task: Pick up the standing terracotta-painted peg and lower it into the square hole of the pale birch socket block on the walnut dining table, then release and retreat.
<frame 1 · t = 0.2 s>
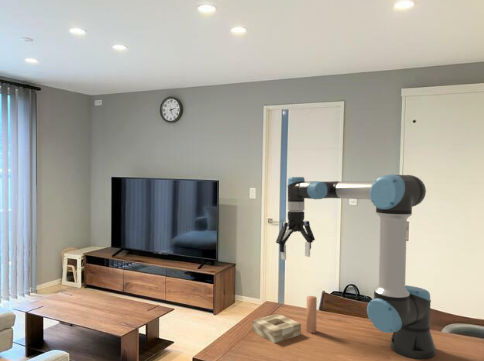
hand: (295, 257, 173), 27 cm above the table, fingers open, 13 cm apart
peg: (311, 331, 157), on the table
socket block: (276, 332, 155), on the table
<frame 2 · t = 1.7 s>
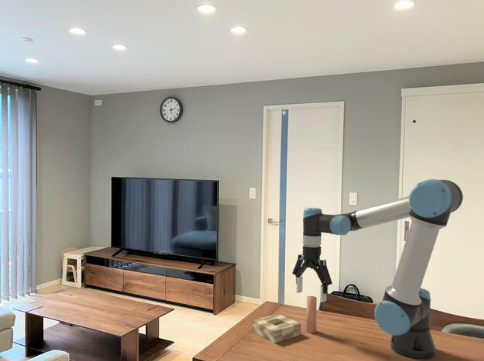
hand: (310, 296, 157), 14 cm above the table, fingers open, 13 cm apart
nothing on the table moved.
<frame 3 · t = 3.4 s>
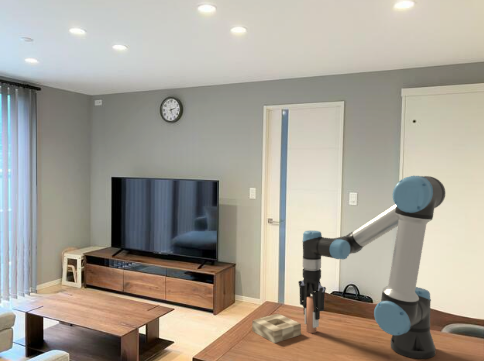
hand: (311, 325, 157), 3 cm above the table, fingers closed on peg, 4 cm apart
peg: (311, 331, 157), on the table, touching gripper
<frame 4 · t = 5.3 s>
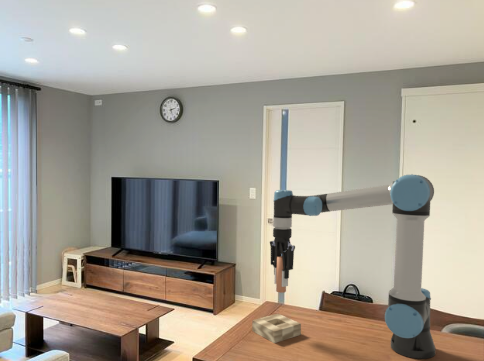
hand: (281, 284, 156), 20 cm above the table, fingers closed on peg, 4 cm apart
peg: (281, 291, 156), point 17 cm above the table, touching gripper
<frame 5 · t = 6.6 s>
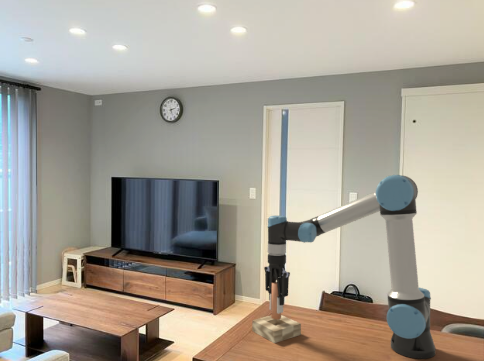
hand: (276, 310, 155), 9 cm above the table, fingers closed on peg, 4 cm apart
peg: (276, 317, 155), point 6 cm above the table, touching gripper
when the fingers open (6 cm above the table, at t = 7.5 s): peg drops 3 cm, resting in socket block.
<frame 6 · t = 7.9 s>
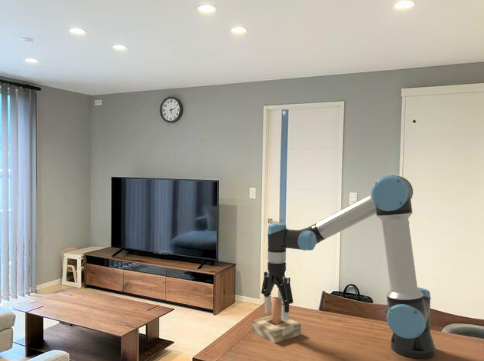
hand: (276, 316, 155), 7 cm above the table, fingers open, 10 cm apart
peg: (276, 332, 155), resting in socket block
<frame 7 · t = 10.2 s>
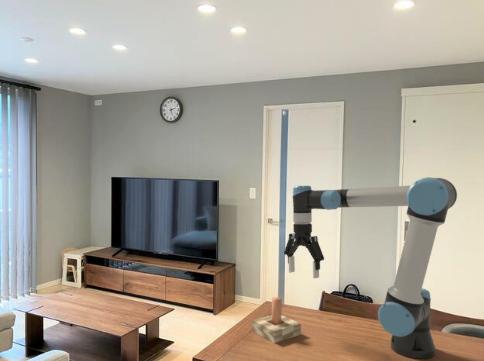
hand: (303, 274, 156), 23 cm above the table, fingers open, 13 cm apart
nothing on the table moved.
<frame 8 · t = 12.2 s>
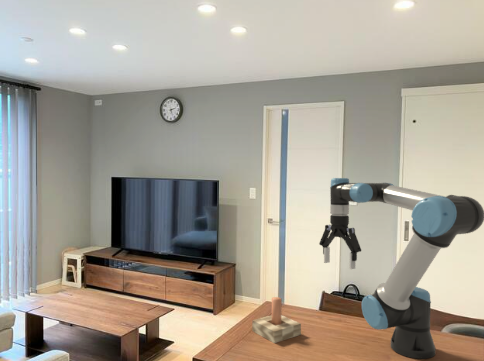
hand: (339, 265, 159), 27 cm above the table, fingers open, 13 cm apart
nothing on the table moved.
at the end: peg 0.0 cm off-centre on the socket block, point 0.0 cm above the socket block's base; peg tilted 0°; the gripper is holding nothing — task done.
